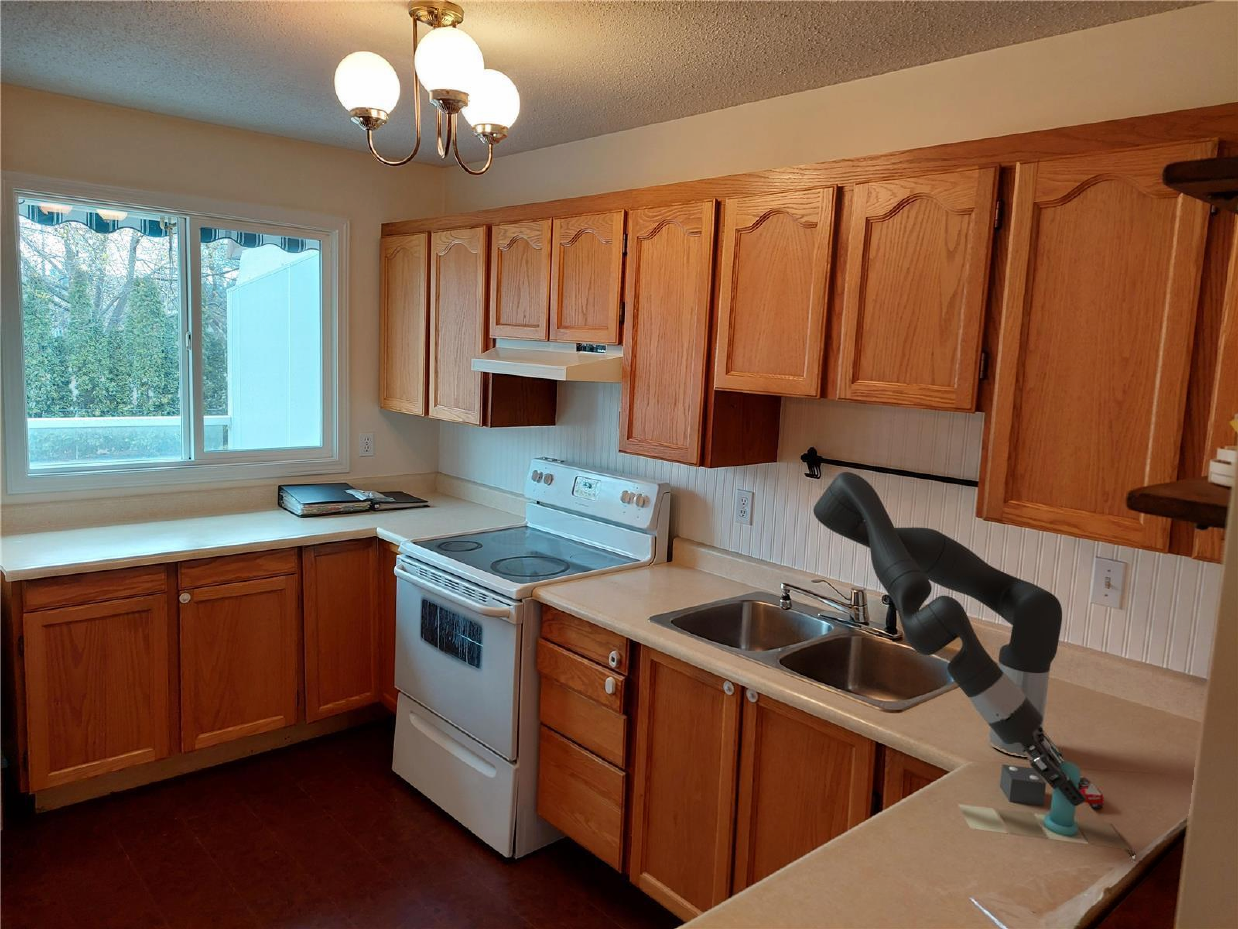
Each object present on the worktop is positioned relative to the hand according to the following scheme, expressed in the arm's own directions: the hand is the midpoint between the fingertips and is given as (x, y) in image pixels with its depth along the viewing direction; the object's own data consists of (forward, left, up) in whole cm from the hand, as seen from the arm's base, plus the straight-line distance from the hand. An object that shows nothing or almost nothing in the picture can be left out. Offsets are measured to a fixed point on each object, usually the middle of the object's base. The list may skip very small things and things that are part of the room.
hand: (1078, 795), depth 135 cm
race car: (-18, +6, -8) cm, 20 cm away
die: (-11, -5, -8) cm, 14 cm away
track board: (-1, -5, -8) cm, 9 cm away
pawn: (-1, -2, -6) cm, 6 cm away
